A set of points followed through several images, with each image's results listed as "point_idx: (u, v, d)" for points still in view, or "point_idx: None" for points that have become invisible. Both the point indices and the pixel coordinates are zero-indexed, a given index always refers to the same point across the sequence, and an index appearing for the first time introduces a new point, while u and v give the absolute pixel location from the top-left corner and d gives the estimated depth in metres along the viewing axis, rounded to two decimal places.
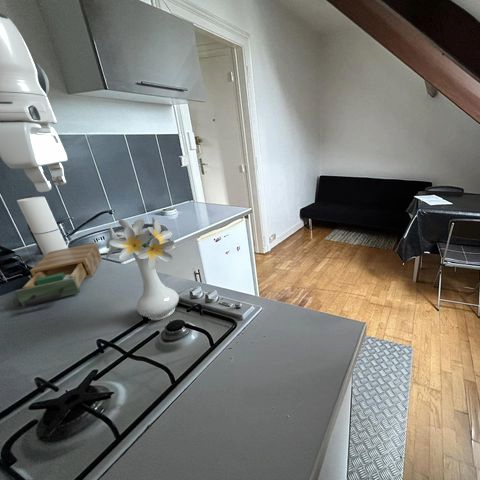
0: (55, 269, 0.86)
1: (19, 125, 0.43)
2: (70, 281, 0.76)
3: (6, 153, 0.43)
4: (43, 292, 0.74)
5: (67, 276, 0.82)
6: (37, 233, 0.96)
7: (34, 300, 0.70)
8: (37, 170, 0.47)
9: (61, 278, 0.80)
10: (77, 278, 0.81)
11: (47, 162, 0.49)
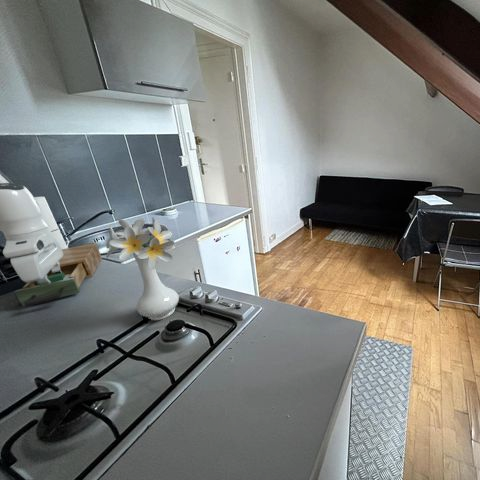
0: None
1: (31, 257, 0.69)
2: (70, 281, 0.76)
3: (23, 275, 0.69)
4: (43, 292, 0.74)
5: (67, 276, 0.82)
6: None
7: (34, 300, 0.70)
8: (43, 277, 0.74)
9: (61, 278, 0.80)
10: (77, 278, 0.81)
11: (49, 270, 0.76)
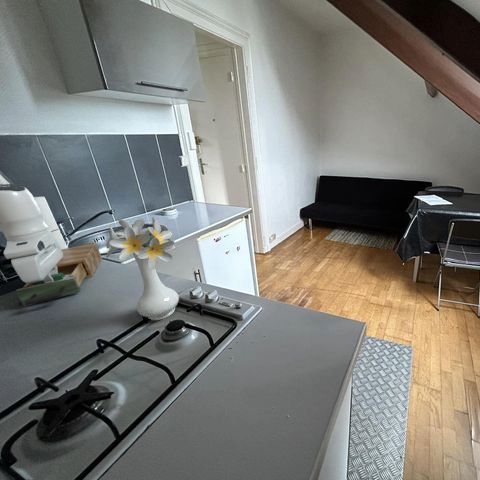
0: None
1: (31, 258, 0.69)
2: (71, 280, 0.77)
3: (24, 276, 0.69)
4: (44, 291, 0.74)
5: (66, 276, 0.82)
6: None
7: (35, 299, 0.70)
8: (46, 275, 0.76)
9: (60, 278, 0.80)
10: (78, 278, 0.82)
11: (49, 271, 0.76)
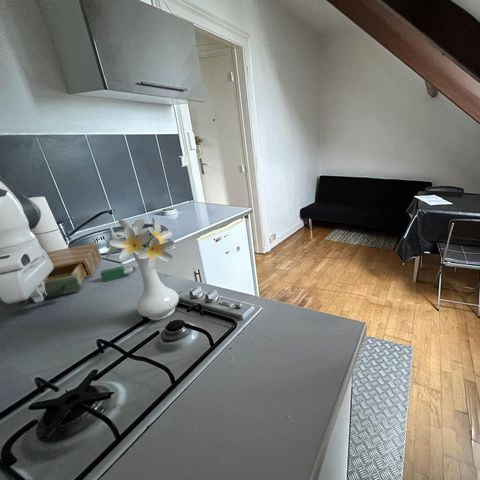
0: (57, 267, 0.87)
1: (14, 275, 0.60)
2: (72, 278, 0.78)
3: (5, 295, 0.60)
4: (46, 289, 0.75)
5: (126, 269, 0.89)
6: (37, 233, 0.96)
7: None
8: (34, 290, 0.68)
9: (122, 271, 0.87)
10: (79, 276, 0.83)
11: (35, 287, 0.66)
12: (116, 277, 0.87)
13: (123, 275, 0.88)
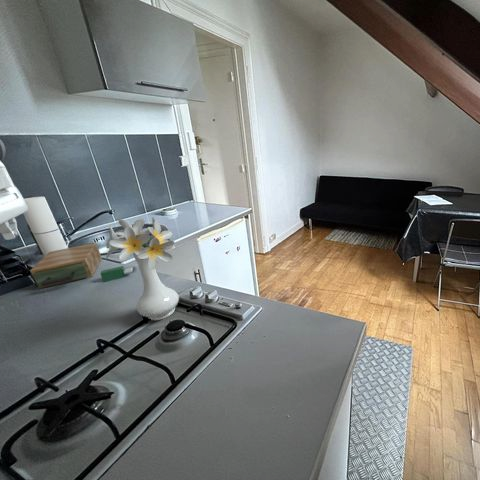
0: None
1: None
2: (80, 265, 0.86)
3: None
4: (57, 275, 0.84)
5: (126, 269, 0.89)
6: (37, 233, 0.96)
7: (50, 281, 0.80)
8: (3, 224, 0.62)
9: (122, 271, 0.87)
10: None
11: (4, 220, 0.61)
12: (116, 277, 0.87)
13: (123, 275, 0.88)
